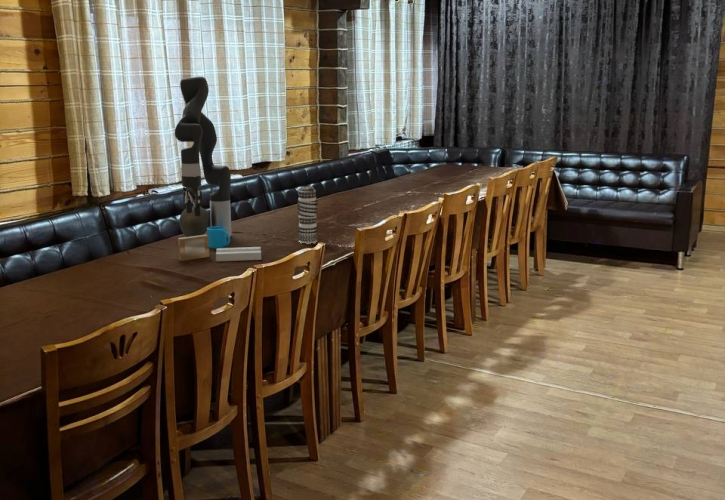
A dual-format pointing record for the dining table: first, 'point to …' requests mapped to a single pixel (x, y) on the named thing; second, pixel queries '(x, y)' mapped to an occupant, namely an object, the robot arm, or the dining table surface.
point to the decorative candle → (307, 215)
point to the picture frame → (193, 247)
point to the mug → (217, 237)
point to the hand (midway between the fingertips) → (193, 214)
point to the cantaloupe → (194, 223)
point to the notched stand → (238, 254)
